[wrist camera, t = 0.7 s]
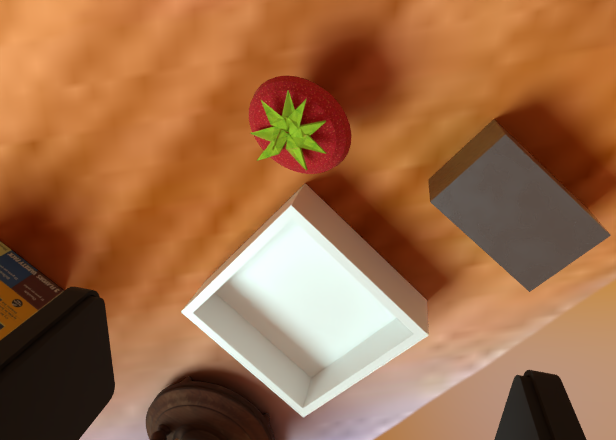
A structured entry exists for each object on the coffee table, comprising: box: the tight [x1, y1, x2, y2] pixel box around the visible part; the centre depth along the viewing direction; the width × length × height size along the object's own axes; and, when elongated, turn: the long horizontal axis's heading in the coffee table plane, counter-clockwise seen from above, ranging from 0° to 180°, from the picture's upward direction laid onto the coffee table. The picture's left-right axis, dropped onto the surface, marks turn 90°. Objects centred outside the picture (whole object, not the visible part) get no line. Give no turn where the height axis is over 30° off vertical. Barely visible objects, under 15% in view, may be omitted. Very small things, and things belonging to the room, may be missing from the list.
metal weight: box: [429, 119, 610, 292], centre depth 34 cm, size 6×10×5 cm, turn 50°
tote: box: [181, 183, 429, 418], centre depth 41 cm, size 15×15×5 cm
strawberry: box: [249, 76, 351, 174], centre depth 32 cm, size 6×8×10 cm
